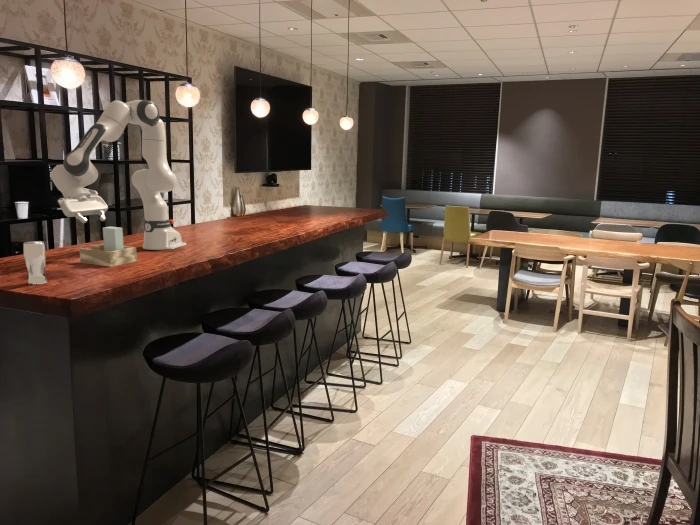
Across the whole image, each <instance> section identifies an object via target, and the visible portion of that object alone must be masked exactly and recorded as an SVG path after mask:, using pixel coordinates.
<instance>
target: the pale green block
mask: <svg viewBox="0 0 700 525" xmlns="http://www.w3.org/2000/svg"><path fill="white" fill-rule="evenodd" d="M102 237H103V238H102V239H103V243H104V251H109V252H111V251H116V250H122V249H124V246H125V245H124V233H123V227H121V226H120V227H117V226H106V227H102Z"/></svg>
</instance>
